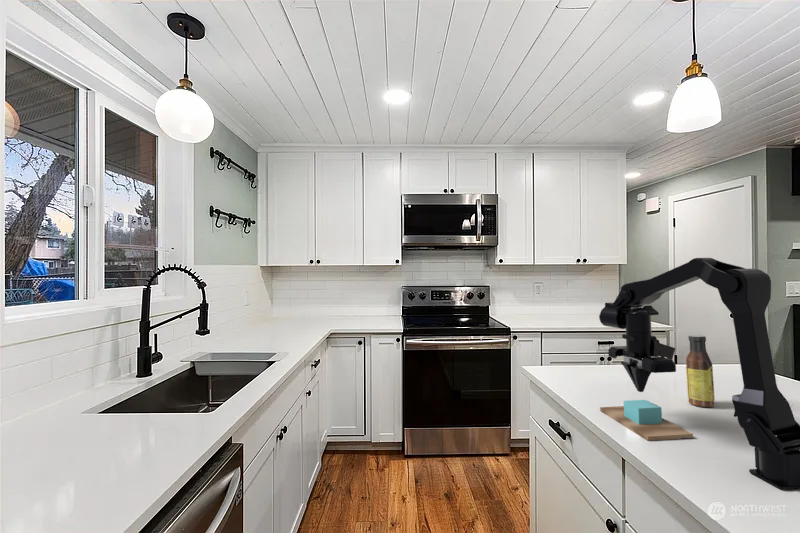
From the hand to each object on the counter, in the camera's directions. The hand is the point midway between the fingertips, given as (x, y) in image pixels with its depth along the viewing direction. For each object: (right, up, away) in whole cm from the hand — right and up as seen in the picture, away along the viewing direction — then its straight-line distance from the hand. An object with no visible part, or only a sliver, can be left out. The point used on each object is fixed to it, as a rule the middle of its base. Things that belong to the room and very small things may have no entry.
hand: (640, 391), depth 104 cm
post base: (0, -8, 0) cm, 8 cm away
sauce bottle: (+25, -8, +12) cm, 28 cm away
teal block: (0, -7, 0) cm, 7 cm away
